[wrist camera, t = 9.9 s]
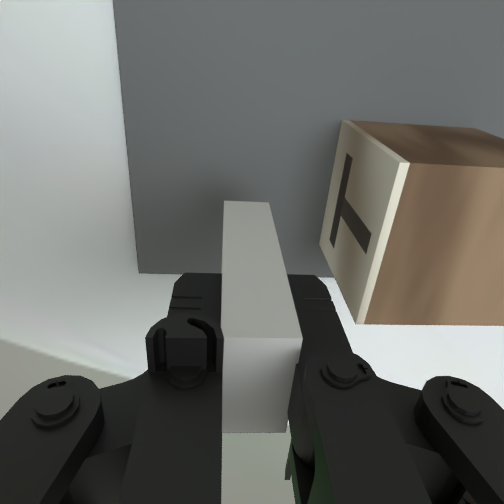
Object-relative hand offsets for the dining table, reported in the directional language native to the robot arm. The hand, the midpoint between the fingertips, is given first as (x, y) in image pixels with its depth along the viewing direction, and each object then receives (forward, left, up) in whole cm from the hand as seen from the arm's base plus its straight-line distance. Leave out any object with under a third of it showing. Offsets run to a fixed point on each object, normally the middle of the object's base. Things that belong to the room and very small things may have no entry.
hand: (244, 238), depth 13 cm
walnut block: (+4, 0, -2) cm, 5 cm away
